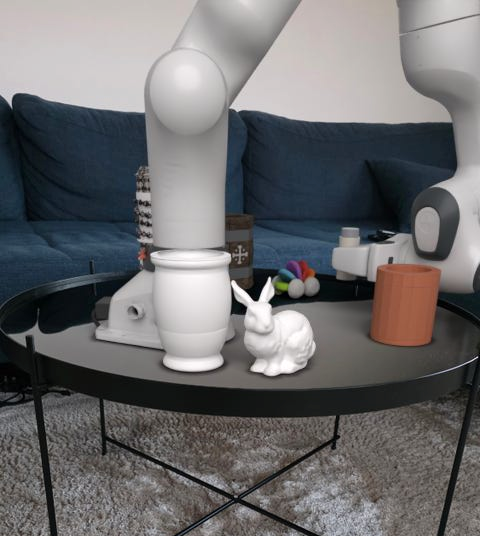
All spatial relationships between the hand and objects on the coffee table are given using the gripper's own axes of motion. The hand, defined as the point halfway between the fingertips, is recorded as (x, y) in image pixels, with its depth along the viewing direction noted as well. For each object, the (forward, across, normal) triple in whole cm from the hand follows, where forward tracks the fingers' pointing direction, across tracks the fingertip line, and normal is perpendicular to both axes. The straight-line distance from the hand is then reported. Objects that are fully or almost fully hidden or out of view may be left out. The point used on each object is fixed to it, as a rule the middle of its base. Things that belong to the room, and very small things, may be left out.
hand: (344, 250), depth 116 cm
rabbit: (-22, +40, +10) cm, 47 cm away
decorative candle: (+24, +28, +10) cm, 38 cm away
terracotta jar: (-24, +13, +10) cm, 29 cm away
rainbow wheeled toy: (+10, +3, +10) cm, 15 cm away
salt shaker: (-1, 0, +5) cm, 5 cm away
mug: (+30, +10, +10) cm, 33 cm away
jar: (-13, +47, +10) cm, 50 cm away
